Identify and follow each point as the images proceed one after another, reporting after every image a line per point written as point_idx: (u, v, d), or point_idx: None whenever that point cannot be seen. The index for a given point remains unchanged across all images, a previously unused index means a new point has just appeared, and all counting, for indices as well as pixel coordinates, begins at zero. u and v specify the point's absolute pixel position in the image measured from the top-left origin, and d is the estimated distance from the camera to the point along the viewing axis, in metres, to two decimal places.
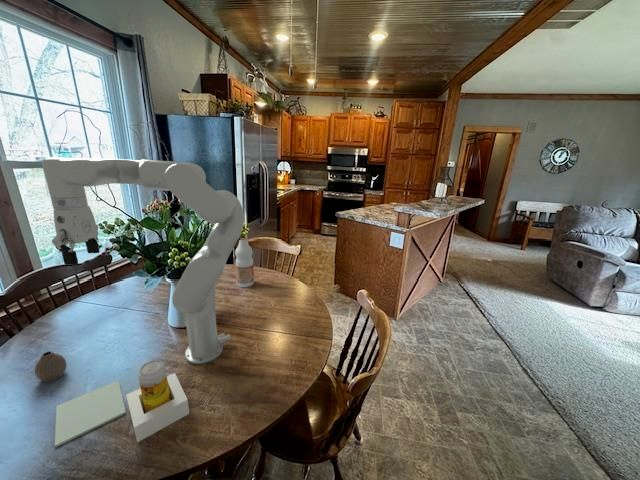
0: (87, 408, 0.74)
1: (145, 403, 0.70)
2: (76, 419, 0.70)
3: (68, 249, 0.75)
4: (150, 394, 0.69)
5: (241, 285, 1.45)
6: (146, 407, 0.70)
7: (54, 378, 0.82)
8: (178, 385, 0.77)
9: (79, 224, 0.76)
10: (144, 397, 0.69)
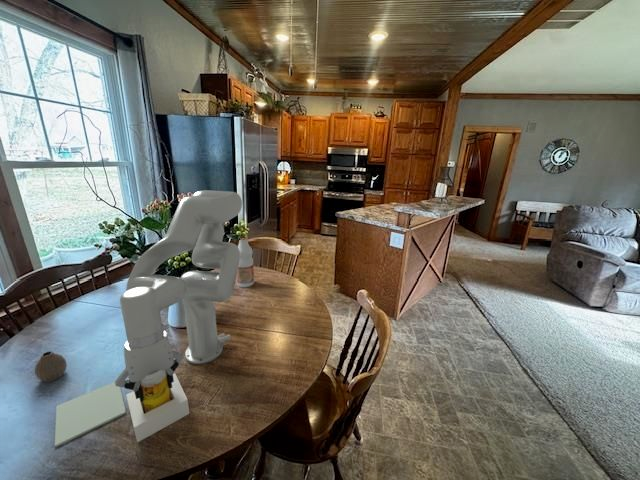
0: (87, 408, 0.74)
1: (145, 403, 0.70)
2: (76, 419, 0.70)
3: None
4: (150, 394, 0.69)
5: (241, 285, 1.45)
6: (146, 407, 0.70)
7: (54, 378, 0.82)
8: (178, 385, 0.77)
9: None
10: (144, 397, 0.69)
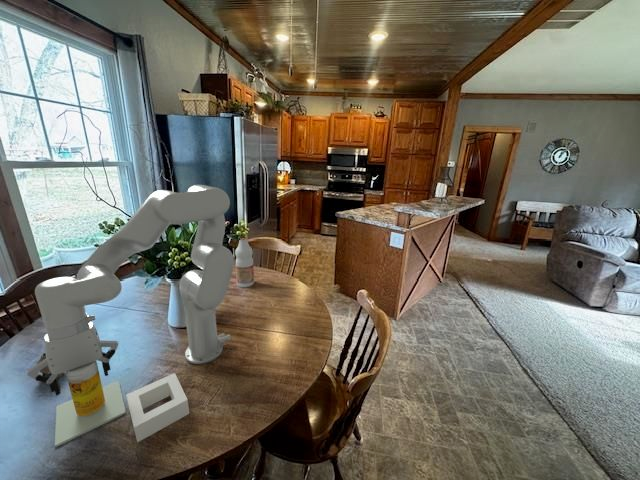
0: None
1: (73, 400, 0.69)
2: (76, 419, 0.70)
3: None
4: (77, 391, 0.68)
5: (241, 285, 1.45)
6: (75, 404, 0.69)
7: None
8: (178, 385, 0.77)
9: None
10: (72, 394, 0.69)
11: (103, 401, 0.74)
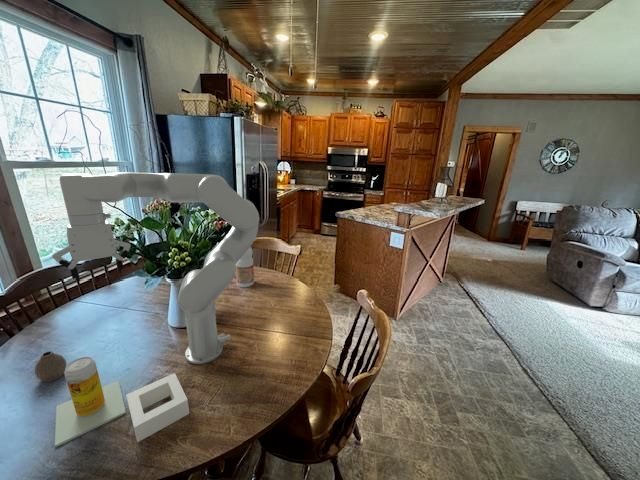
0: None
1: (73, 400, 0.69)
2: (76, 419, 0.70)
3: None
4: (76, 391, 0.68)
5: (241, 285, 1.45)
6: (74, 404, 0.69)
7: (54, 378, 0.82)
8: (178, 385, 0.77)
9: None
10: (71, 394, 0.69)
11: (103, 401, 0.74)
